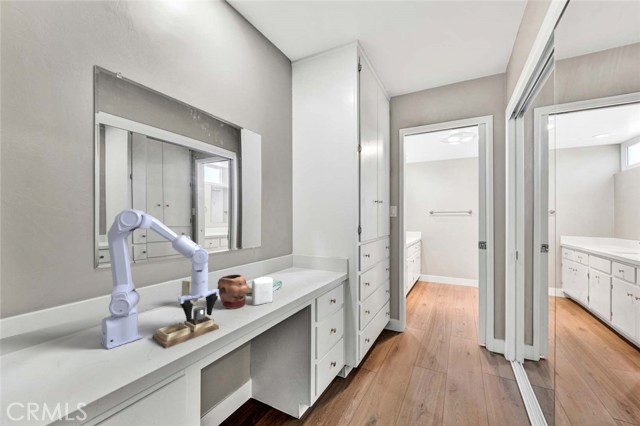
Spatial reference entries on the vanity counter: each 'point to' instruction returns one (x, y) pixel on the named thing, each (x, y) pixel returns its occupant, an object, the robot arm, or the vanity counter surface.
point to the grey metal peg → (198, 315)
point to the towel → (275, 286)
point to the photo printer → (262, 290)
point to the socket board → (183, 332)
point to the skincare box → (188, 290)
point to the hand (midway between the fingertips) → (199, 318)
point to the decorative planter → (232, 291)
